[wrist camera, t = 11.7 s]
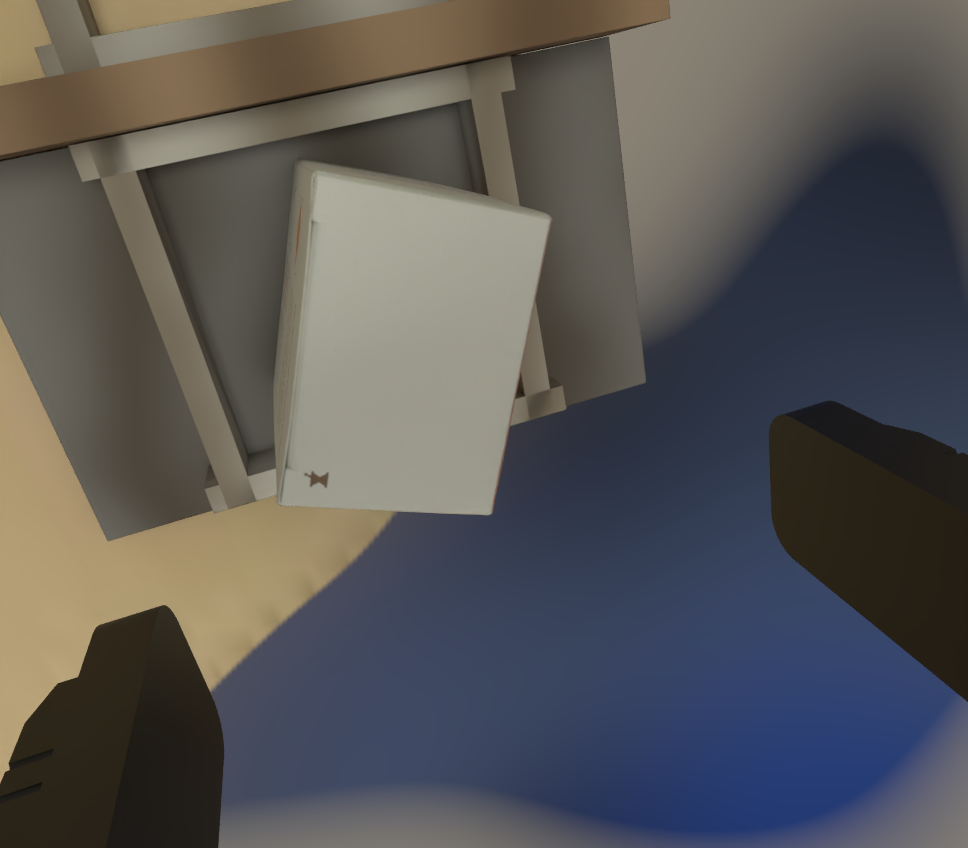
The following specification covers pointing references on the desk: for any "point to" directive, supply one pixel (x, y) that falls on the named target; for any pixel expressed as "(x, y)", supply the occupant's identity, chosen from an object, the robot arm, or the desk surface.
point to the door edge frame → (285, 212)
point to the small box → (400, 341)
